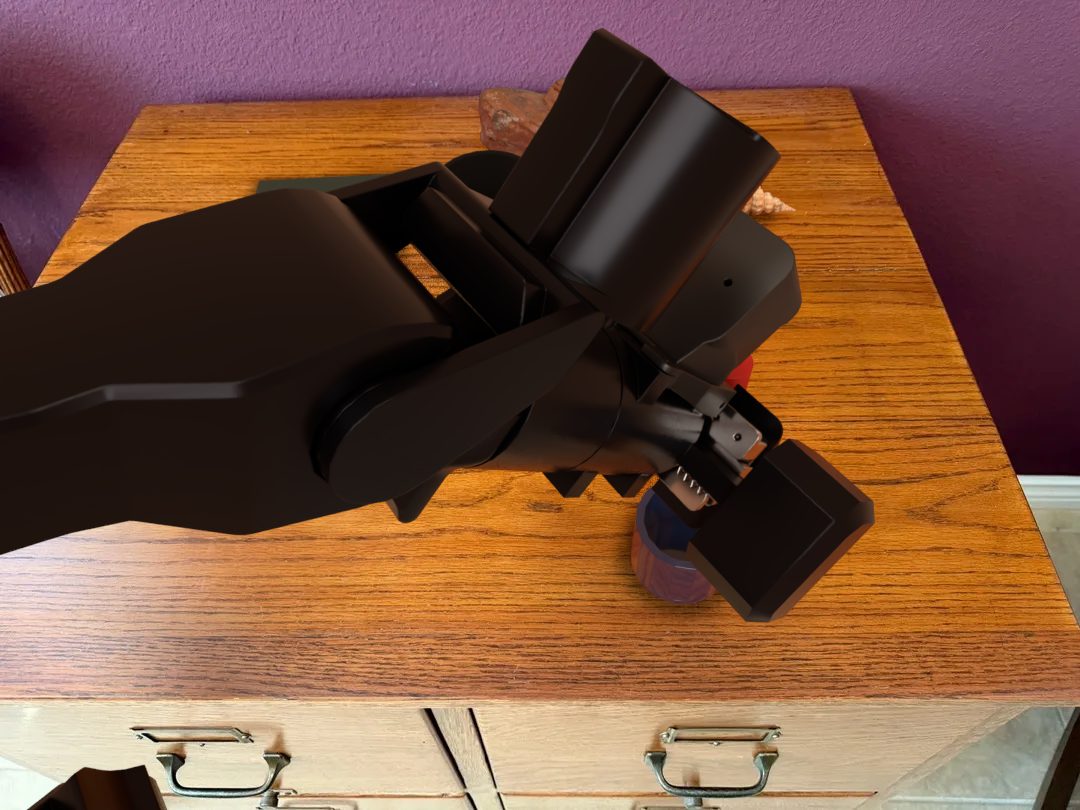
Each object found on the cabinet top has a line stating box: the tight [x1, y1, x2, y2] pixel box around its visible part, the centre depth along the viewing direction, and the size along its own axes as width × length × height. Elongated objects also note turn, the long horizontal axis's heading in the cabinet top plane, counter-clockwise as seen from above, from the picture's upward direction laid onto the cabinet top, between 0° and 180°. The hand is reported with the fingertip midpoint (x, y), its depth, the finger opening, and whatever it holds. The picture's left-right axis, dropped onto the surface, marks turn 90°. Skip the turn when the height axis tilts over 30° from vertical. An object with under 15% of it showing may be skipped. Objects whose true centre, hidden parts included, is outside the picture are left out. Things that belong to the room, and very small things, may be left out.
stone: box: [477, 76, 566, 156], centre depth 70 cm, size 13×8×10 cm
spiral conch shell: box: [742, 184, 796, 216], centre depth 69 cm, size 14×5×4 cm, turn 99°
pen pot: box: [630, 485, 718, 605], centre depth 48 cm, size 6×6×5 cm
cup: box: [443, 149, 521, 200], centre depth 60 cm, size 8×8×12 cm
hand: (730, 423), depth 40 cm, fingers closed
